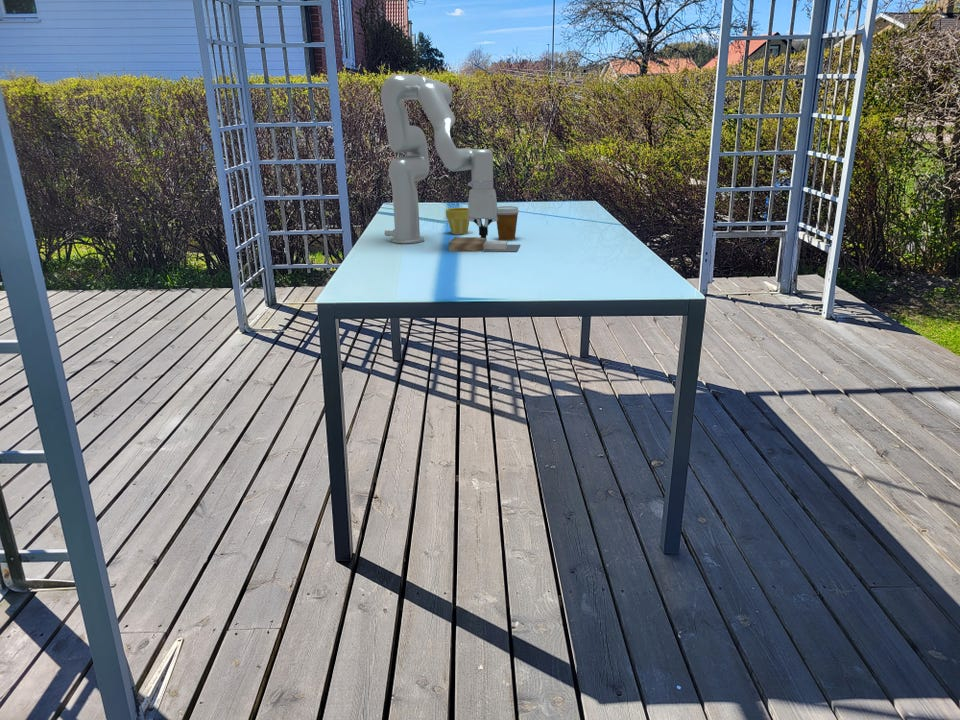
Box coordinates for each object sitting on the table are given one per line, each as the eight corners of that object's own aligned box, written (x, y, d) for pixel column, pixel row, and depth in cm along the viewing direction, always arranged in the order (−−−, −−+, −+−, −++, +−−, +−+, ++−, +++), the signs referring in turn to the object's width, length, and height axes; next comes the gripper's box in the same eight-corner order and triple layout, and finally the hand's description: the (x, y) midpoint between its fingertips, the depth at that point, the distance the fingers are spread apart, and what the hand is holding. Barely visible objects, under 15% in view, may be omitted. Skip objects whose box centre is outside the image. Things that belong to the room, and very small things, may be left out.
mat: (483, 251, 251) (483, 250, 251) (488, 245, 264) (488, 244, 263) (517, 252, 250) (517, 251, 250) (520, 245, 262) (520, 244, 262)
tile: (483, 249, 254) (483, 243, 254) (485, 246, 260) (485, 240, 259) (505, 249, 253) (505, 243, 253) (507, 246, 259) (507, 240, 258)
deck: (449, 251, 254) (448, 242, 253) (454, 245, 265) (454, 237, 264) (482, 251, 252) (482, 243, 251) (486, 245, 263) (486, 237, 262)
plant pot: (443, 232, 294) (443, 208, 290) (467, 230, 296) (467, 206, 293) (450, 236, 284) (449, 211, 281) (474, 234, 287) (474, 209, 284)
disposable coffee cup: (521, 237, 279) (521, 206, 275) (516, 241, 270) (516, 209, 266) (497, 236, 281) (497, 205, 277) (492, 240, 272) (491, 209, 268)
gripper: (459, 186, 248) (461, 239, 254) (502, 186, 246) (502, 239, 252) (463, 184, 255) (464, 235, 261) (504, 184, 253) (505, 235, 259)
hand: (483, 237), depth 256 cm, fingers closed
